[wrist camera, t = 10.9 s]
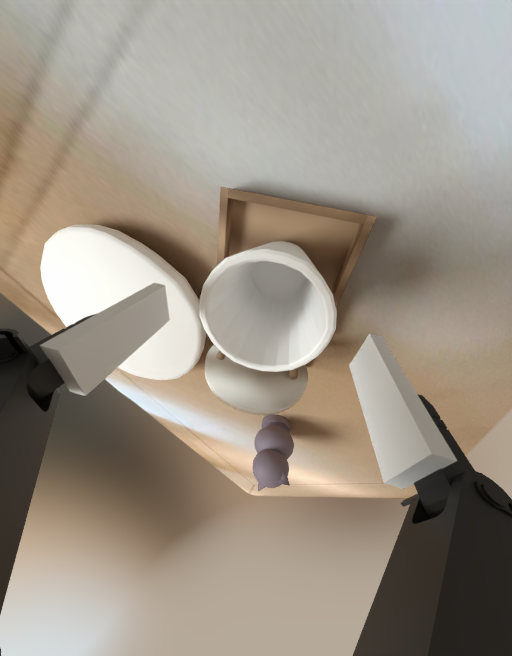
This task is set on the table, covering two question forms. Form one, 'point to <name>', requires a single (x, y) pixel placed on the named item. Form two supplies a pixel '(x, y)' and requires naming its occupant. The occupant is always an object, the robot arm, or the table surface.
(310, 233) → the rack
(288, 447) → the cat figurine
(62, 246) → the plate
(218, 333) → the cup
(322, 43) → the table surface
